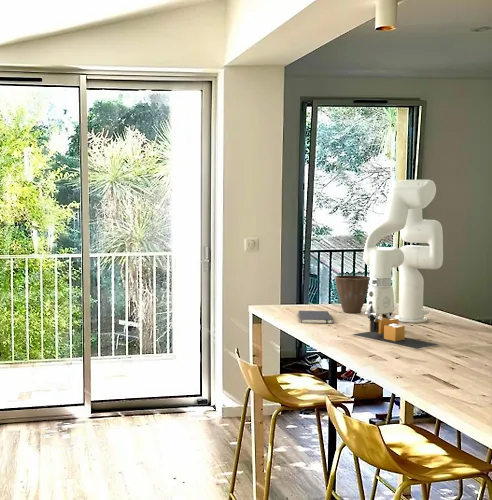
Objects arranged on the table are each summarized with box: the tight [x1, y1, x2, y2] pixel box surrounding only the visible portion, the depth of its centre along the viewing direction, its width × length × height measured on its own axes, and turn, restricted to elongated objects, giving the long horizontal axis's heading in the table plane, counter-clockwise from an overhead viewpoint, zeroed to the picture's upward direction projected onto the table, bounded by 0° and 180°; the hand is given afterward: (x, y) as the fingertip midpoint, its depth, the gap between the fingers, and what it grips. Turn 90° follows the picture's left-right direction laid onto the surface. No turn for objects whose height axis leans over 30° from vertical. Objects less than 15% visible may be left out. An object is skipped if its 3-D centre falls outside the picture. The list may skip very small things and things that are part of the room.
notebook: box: [298, 310, 334, 324], centre depth 279 cm, size 13×2×21 cm
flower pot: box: [334, 274, 370, 314], centre depth 294 cm, size 15×15×16 cm
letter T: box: [390, 316, 400, 325], centre depth 251 cm, size 5×5×5 cm
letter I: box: [384, 324, 406, 341], centre depth 234 cm, size 5×5×5 cm
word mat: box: [352, 331, 440, 350], centre depth 234 cm, size 12×28×1 cm, turn 30°
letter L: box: [369, 316, 390, 334], centre depth 240 cm, size 5×5×5 cm
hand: (379, 330), depth 240 cm, fingers closed on letter L, 5 cm apart
